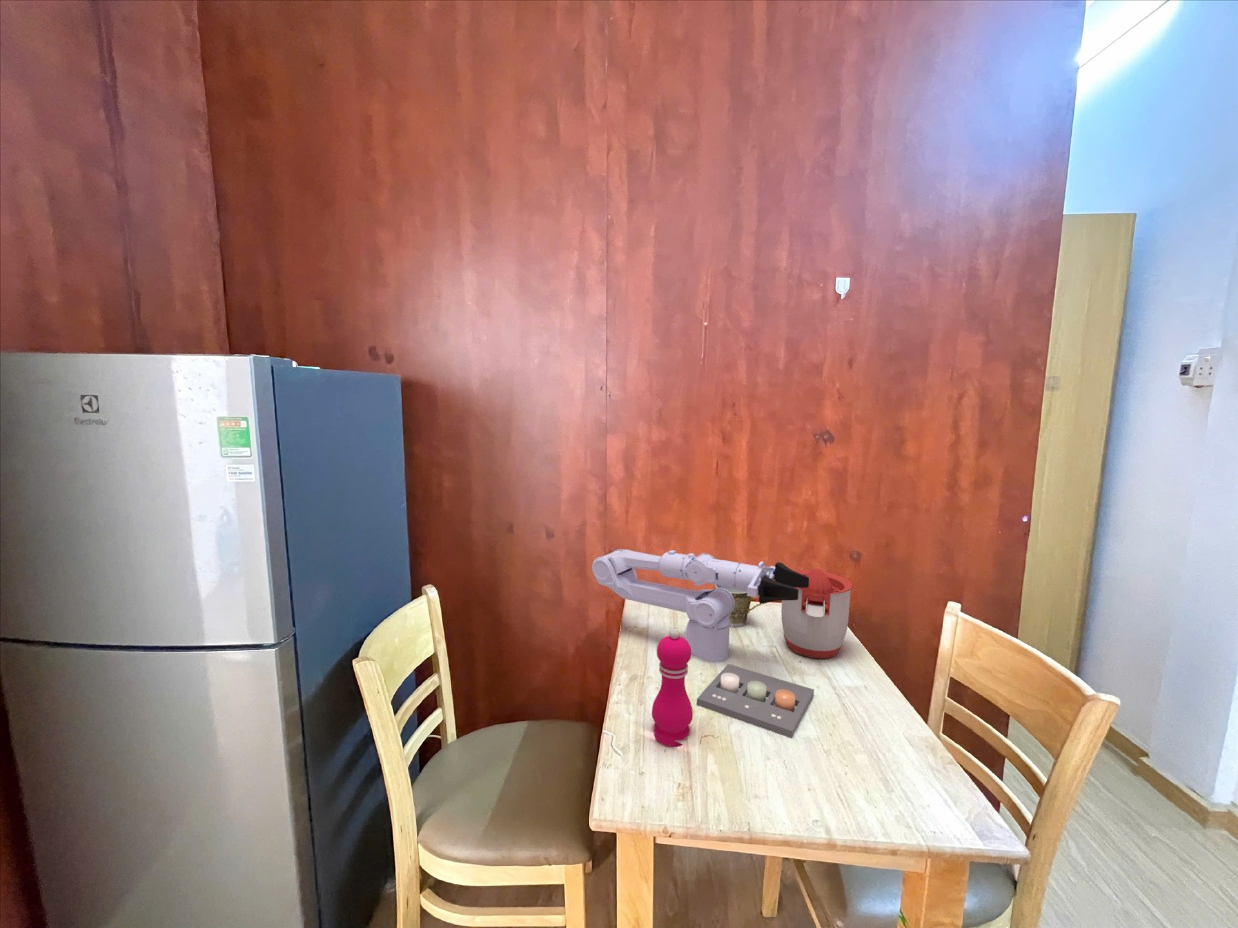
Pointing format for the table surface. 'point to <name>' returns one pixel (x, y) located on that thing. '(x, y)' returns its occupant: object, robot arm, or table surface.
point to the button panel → (753, 709)
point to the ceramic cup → (739, 606)
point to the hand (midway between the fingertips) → (803, 588)
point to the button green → (756, 691)
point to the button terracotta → (785, 700)
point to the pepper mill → (672, 691)
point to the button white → (730, 682)
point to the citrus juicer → (817, 615)
